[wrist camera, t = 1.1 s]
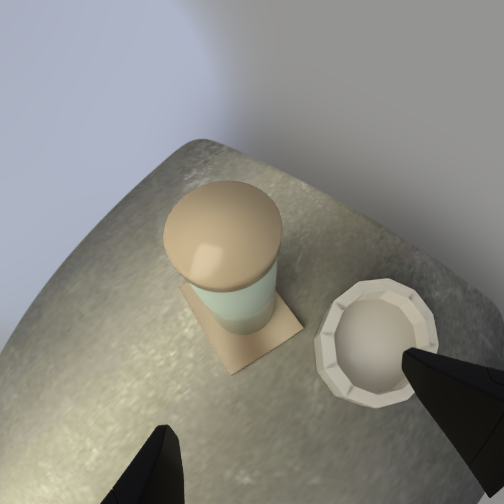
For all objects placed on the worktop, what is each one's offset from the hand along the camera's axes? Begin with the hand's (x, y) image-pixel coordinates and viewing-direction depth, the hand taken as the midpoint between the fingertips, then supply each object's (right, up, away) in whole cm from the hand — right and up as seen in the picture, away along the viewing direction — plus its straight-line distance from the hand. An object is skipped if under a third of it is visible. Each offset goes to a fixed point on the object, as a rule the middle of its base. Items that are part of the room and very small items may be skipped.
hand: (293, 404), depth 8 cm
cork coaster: (-3, 0, +15) cm, 15 cm away
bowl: (+9, -3, +13) cm, 16 cm away
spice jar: (-2, +1, +15) cm, 15 cm away
